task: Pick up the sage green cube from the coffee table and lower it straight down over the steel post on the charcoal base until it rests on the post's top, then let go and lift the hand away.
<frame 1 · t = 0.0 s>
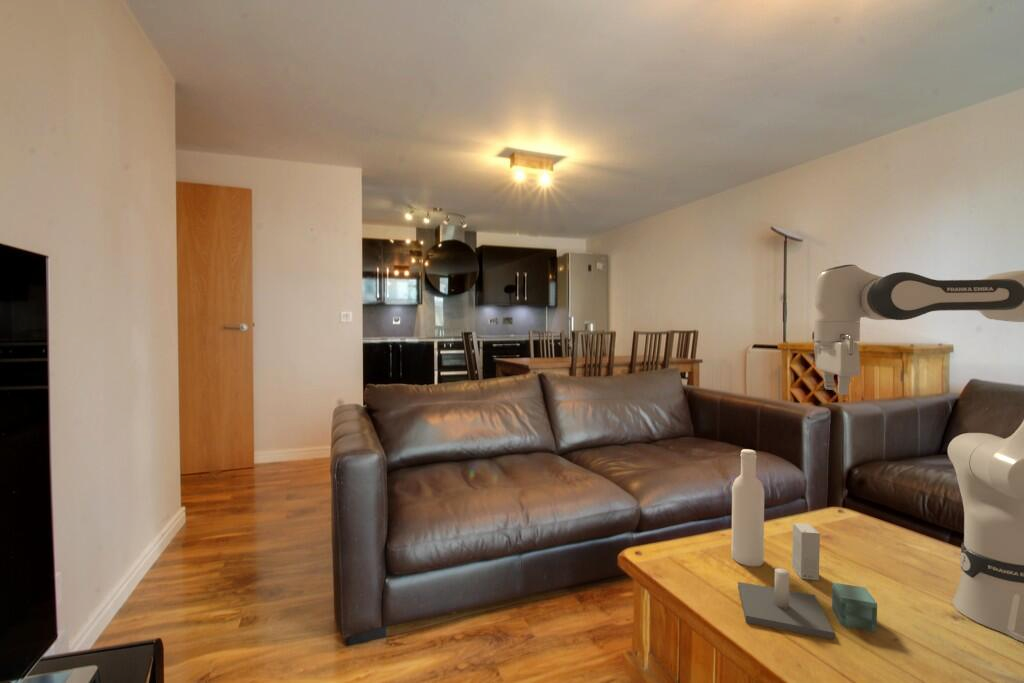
hand: (835, 391, 109), 48 cm above the table, tool pointing down, fingers open, 8 cm apart
skincare box: (805, 574, 118), on the table
post block: (781, 611, 102), on the table
sage green cube: (853, 619, 99), on the table
bottle: (747, 560, 125), on the table
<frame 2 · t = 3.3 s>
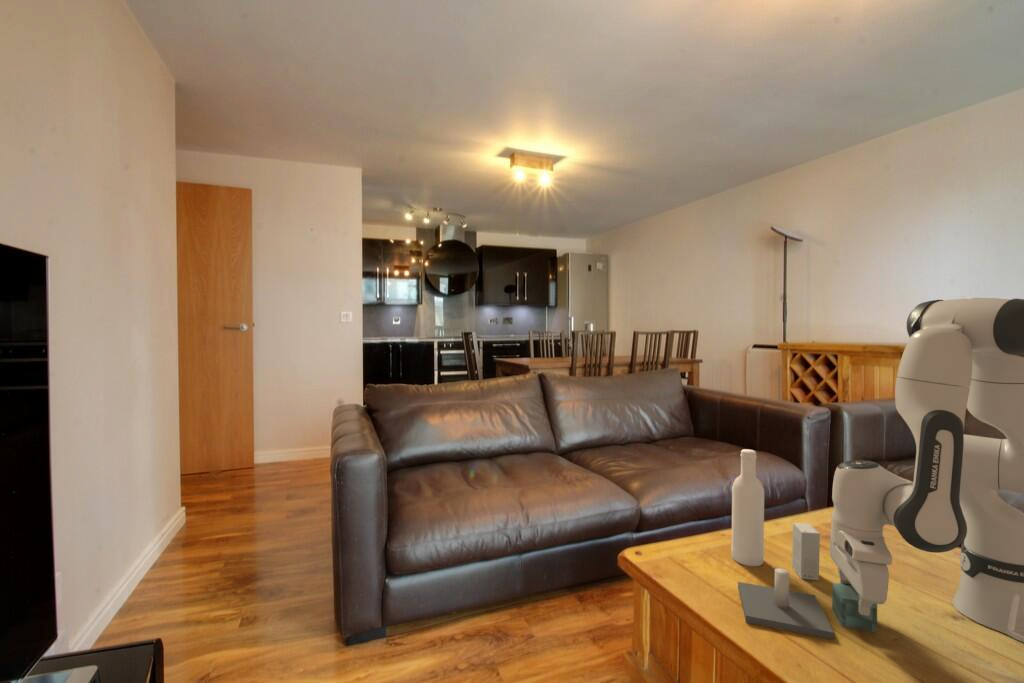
hand: (854, 600, 98), 5 cm above the table, tool pointing down, fingers open, 8 cm apart
sage green cube: (853, 620, 99), on the table, touching gripper
everything else where it was.
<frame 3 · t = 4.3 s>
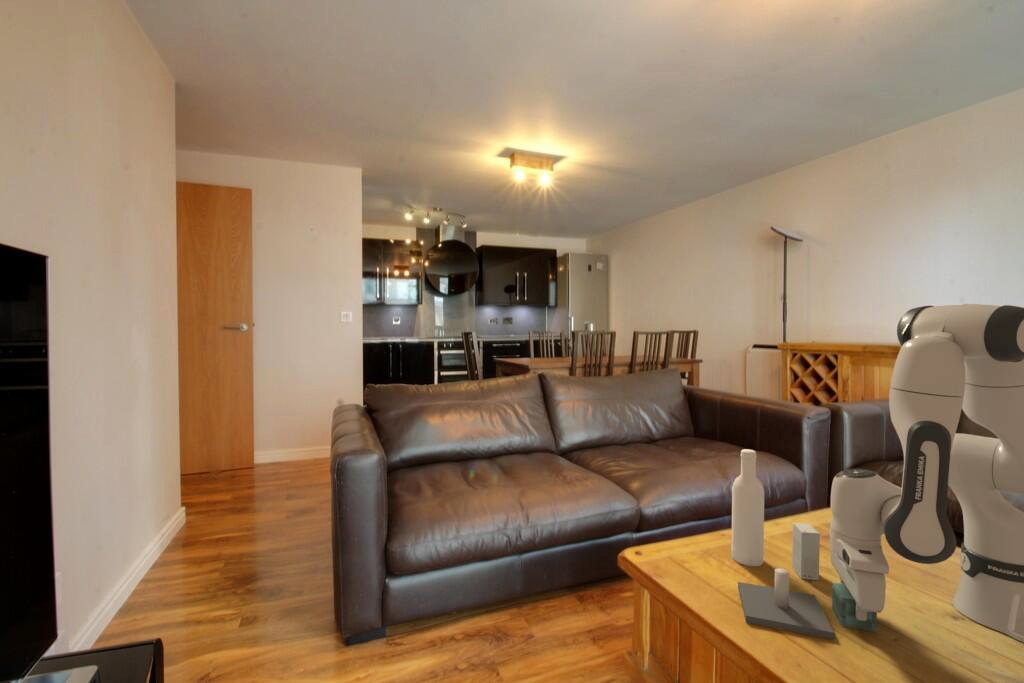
hand: (853, 608, 99), 3 cm above the table, tool pointing down, fingers closed on sage green cube, 6 cm apart
sage green cube: (853, 619, 99), on the table, touching gripper
everything else where it was.
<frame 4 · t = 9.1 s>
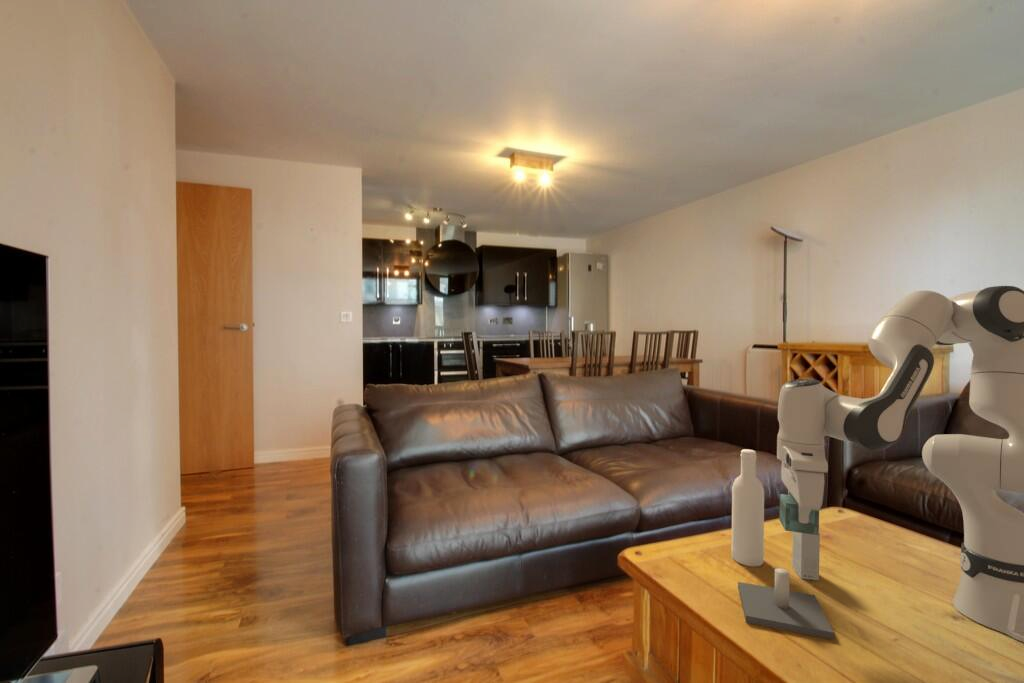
hand: (798, 515, 101), 22 cm above the table, tool pointing down, fingers closed on sage green cube, 6 cm apart
sage green cube: (798, 527, 101), point 19 cm above the table, touching gripper
everything else where it was.
when the fingers open (7 cm above the table, at t = 13.7 s): sage green cube stays where it is, resting on post block.
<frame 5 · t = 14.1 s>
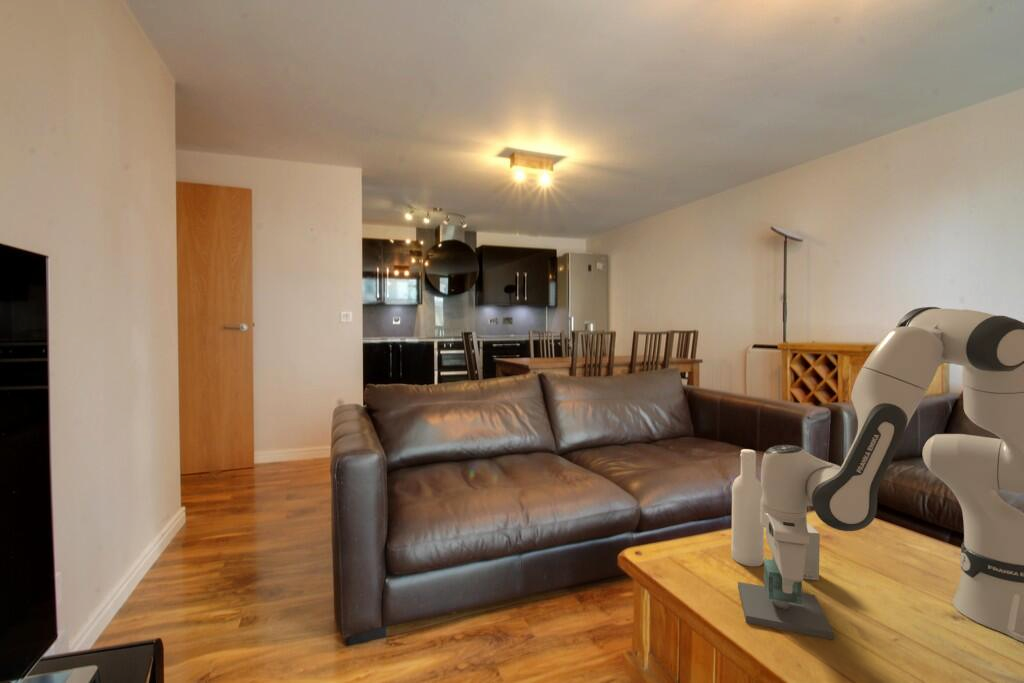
hand: (782, 580, 102), 7 cm above the table, tool pointing down, fingers open, 8 cm apart
sage green cube: (781, 593, 102), point 4 cm above the table, touching post block
everything else where it was.
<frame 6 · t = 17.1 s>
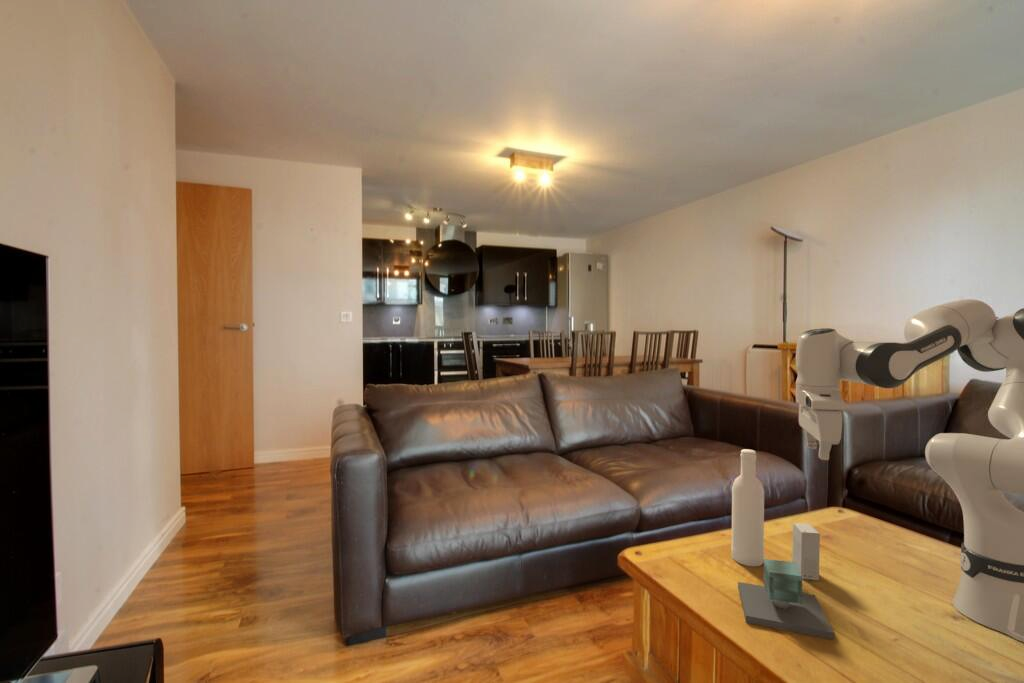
hand: (817, 453, 110), 33 cm above the table, tool pointing down, fingers open, 8 cm apart
nothing on the table moved.
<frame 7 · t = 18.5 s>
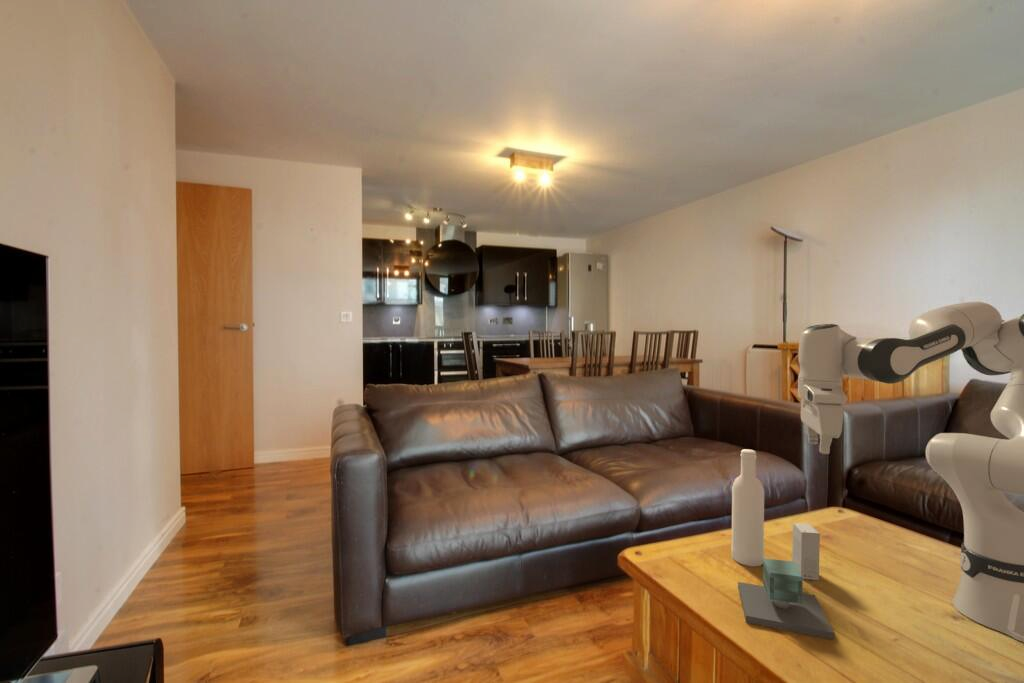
hand: (818, 448, 111), 34 cm above the table, tool pointing down, fingers open, 8 cm apart
nothing on the table moved.
at the end: sage green cube 0.1 cm off-centre on the post block, point 4.0 cm above the post block's base; sage green cube tilted 2°; the gripper is holding nothing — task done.
